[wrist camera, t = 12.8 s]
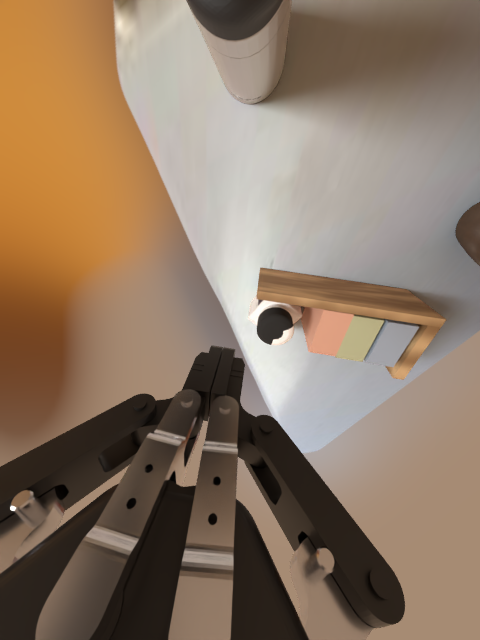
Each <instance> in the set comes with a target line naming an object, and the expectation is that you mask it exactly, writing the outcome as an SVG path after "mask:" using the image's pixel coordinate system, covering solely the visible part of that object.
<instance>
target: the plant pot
mask: <svg viewBox="0 0 480 640" xmlns="http://www.w3.org/2000/svg"><path fill="white" fill-rule="evenodd" d="M456 237H457V240H458V241H459V243H460V244H461V246H462V247H463V248H464V250H465V251H466V252H467V253H468V255H469V256H470V257H471V258H472V259H473V260H474V261H475V262H476V263H477V264H478V265H479V266H480V202H479V203H477V204H475V205H474V206H472V207H471V208H470V209H469V210H467V211H466V212H465V213H464V214H463V216H462V217H461V218H460V220H459V222H458V224H457V227H456Z"/></svg>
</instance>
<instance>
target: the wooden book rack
mask: <svg viewBox="0 0 480 640" xmlns="http://www.w3.org/2000/svg"><path fill="white" fill-rule="evenodd" d="M256 299H259V300H265V301H272V302H278V303H285V304H291V305H298V306H304V307H311V308H317V309H324V310H330V311H337V312H343V313H350V314H356V315H363V316H369V317H376V318H382V319H389V320H395V321H402V322H408V323H415V324H417V325H418V326H419V328H418V330H417V332H416V333H415V335H414V336H413V338H412V339H411V341H410V342H409V344H408V345H407V347H406V349H405V350H404V352H403V353H402V355H401V356H400V358H399V359H398V361H397V362H396V364H395V365H394V367H388V366H386V368H387V370H388V371H389V373H390V374H391V376H392V377H393V378H396V379H402V380H404V378H405V377H406V376H407V374H408V373H409V371H410V370H411V369H412V367H413V366H414V364H415V363H416V362H417V360H418V359H419V357H420V356H421V355H422V353H423V352H424V350H425V349H426V348H427V346H428V345H429V343H430V342H431V340H432V339H433V338H434V336H435V335H436V333H437V332H438V331H439V329H440V328H441V326H442V325H443V324H444V322H445V321H446V319H445V318H444V317H442V316H441V315H440V314H438V313H437V312H436V311H434V310H433V309H432V308H430V307H429V306H428V305H427V304H425V303H424V302H423V301H421V300H420V299H419V298H417V297H416V296H415V295H413V294H412V293H411V292H409V291H408V290H407V289H401V288H394V287H388V286H381V285H374V284H367V283H361V282H354V281H347V280H341V279H334V278H327V277H320V276H314V275H307V274H300V273H293V272H287V271H280V270H273V269H266V268H260V273H259V281H258V290H257V298H256Z"/></svg>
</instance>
